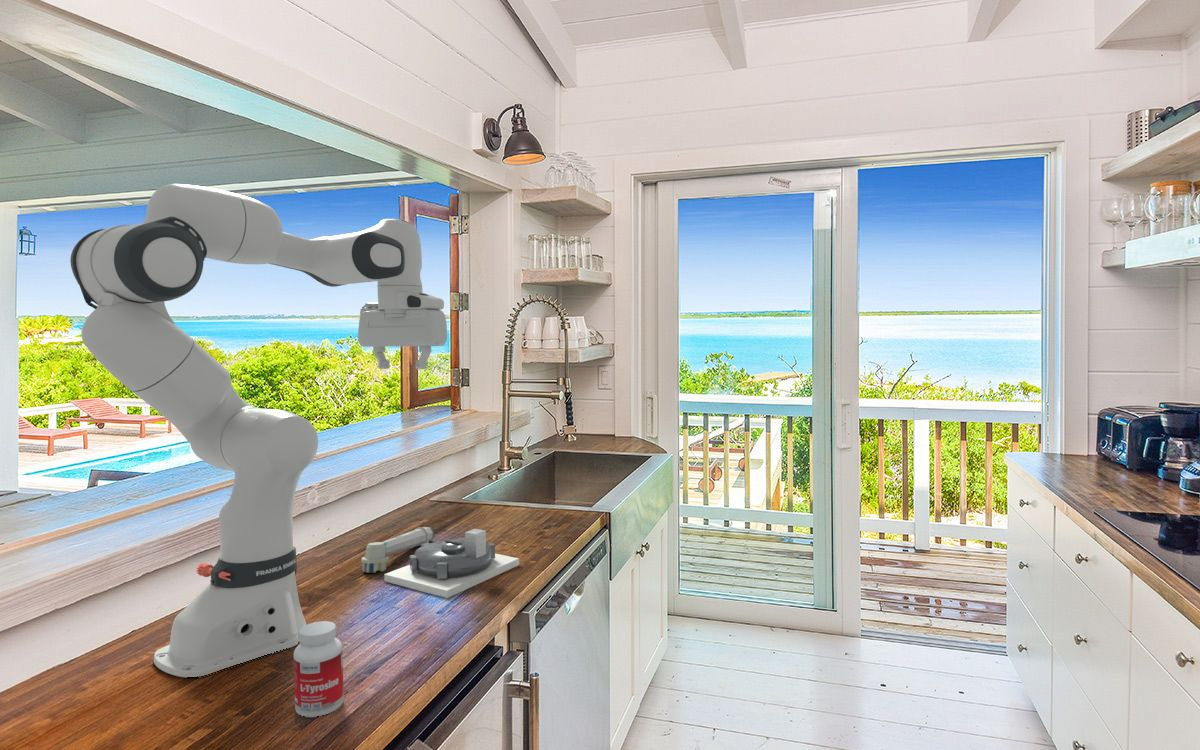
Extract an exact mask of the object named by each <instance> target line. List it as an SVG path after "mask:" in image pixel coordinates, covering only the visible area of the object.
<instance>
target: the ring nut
mask: <svg viewBox="0 0 1200 750" xmlns="http://www.w3.org/2000/svg"><path fill="white" fill-rule="evenodd" d="M486 534H487V532H486V530H484V529H479V528H473V529H470V530H468V531H465V532H464V537H458V538H456V539H455V538H454V539H445V540H444V539H443V540H439V541H435V542H428V543H424V544H422V545H419V546H420V547H419V548H417V549H416V550H415V551H414V554H411V555H409V565H410V570H411V572H419V573H421V574H423V575H427V576H434V577H437V579H447V578H448V577H455V576H462V575H468V574H472V573H475V572H478V571H481V570H483V569H485V568H487V567H488V566H489V565H490V564H491V559H494V558H495V554H496V544H494V543H493V542H487V535H486Z"/></svg>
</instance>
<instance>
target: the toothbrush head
mask: <svg viewBox="0 0 1200 750" xmlns="http://www.w3.org/2000/svg"><path fill="white" fill-rule="evenodd" d="M434 538H435V531H434V530H433V529H432V527H430V526H429V527H428V526H423V527H416V528H415V529H414V530H410V531H408V532H405V533H403V534H400V535H397V536H395V537H392V538H390V539H387V540H384V541H382V542H381V541H377V542H376V541H375V542H374V541H373V542H369V543H368V544H367V545H366V547H365V554H364V556H363V557H361V559H360V563H362V572H364V573H371V574H372V573H376V572H377V571H379V572H384V571H386V570H387V565H388V564H387V563H388V561H389V560H390V556H389V555H392V554H395V553H398V552H401V551H405V550H409V549H412V548H415V547H419V546H420V545H422V544H424V543H431V542H432V540H434Z"/></svg>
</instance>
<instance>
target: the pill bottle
mask: <svg viewBox="0 0 1200 750" xmlns="http://www.w3.org/2000/svg"><path fill="white" fill-rule="evenodd" d="M306 624H307V625H305V626H303V627H302V628H300V630H299V643H298V644H297V645H296V647H295V649H294V651H293V672H294V673H293V677H294V678H293V680H294V687H293V689H294V708H295V709H294V710H295V712H296V713H297V715H299V716H300V715H301V717H303V716H305V717H304V718H318V717H317V716H319V717H323V716H322V715H324V716H326V714H327V715H330V714H332V713H333V711H334V712H335V711H337V710H338V709H339V708H340V707H341V706H342V704H343V702H344V694H345V693H344V691H345V690H344V661H343V660H344V659H343V643H342V642H341V640H339V638H337V637H336V636H337V627H336V625H337V624H335V622H332V621H327V620H322V621H314V622H310V623H306ZM331 712H332V713H331ZM329 713H330V714H329Z"/></svg>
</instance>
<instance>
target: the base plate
mask: <svg viewBox="0 0 1200 750" xmlns="http://www.w3.org/2000/svg"><path fill="white" fill-rule="evenodd" d="M518 566H520V558H518V557H514V556H509V555H504V554H499V553H495V558H494V559H491V564H490V565H489V566H488V567H487V568H485V569H483V570H481V571H478V572H475V573H472V574H468V575H462V576H455V577H448V578H447V579H437V577H434V576H427V575H423V574H421V573H419V572H411V570H410V564H407V565H406V566H402V567H400V568H397V569H394V570H392V571H390V572H387V573H384V578H383V579H384V582H385V583H390V584H394V585H396V586H397V585H398V586H401V587H404V588H408V589H411V590H412V589H413V590H414V591H415V590H416V591H419V592H422V593H423V592H424V593H426V594H430V595H433V596H434V595H435V596H436V597H437V596H438V597H440V598H441V597H442V598H446V599H449V598H450V597H452V596H455V595H457V594H459V593H461V592H463V591H466V590H468V589H470V588H473V587H475V586H476V585H478V584H480V583H481V584H482V583H484V582H486V581H487V580H488V581H489V580H490V579H492V578H494V577H496V576H498V575H500V574H502V573H505V572H507V571H510V570H512V569H513V568H516V567H518Z"/></svg>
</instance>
